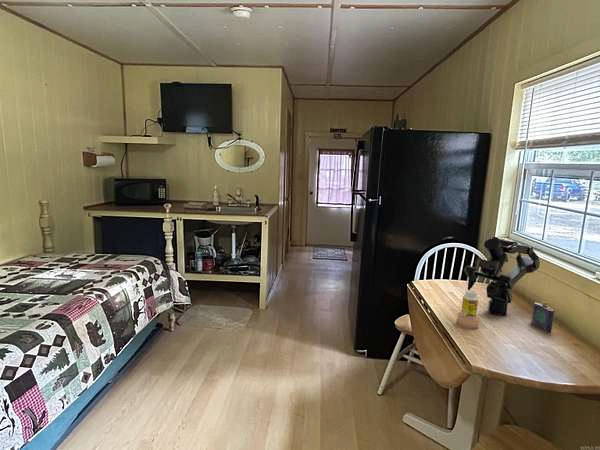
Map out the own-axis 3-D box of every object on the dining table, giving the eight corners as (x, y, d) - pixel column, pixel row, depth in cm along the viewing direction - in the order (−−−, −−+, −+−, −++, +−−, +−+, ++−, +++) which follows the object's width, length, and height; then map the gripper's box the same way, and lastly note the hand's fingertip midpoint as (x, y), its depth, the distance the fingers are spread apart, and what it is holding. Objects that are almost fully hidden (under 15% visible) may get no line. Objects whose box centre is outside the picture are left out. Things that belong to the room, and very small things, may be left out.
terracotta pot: (476, 322, 149) (477, 313, 148) (479, 331, 141) (481, 321, 140) (455, 319, 151) (456, 310, 150) (457, 327, 143) (458, 318, 143)
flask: (529, 322, 151) (533, 298, 149) (535, 322, 151) (539, 298, 149) (547, 332, 142) (551, 306, 140) (553, 332, 142) (558, 306, 140)
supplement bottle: (466, 318, 142) (469, 294, 140) (458, 313, 147) (460, 289, 146) (479, 318, 143) (482, 293, 141) (470, 312, 148) (473, 289, 147)
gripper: (468, 247, 155) (451, 276, 151) (514, 257, 140) (496, 289, 136) (476, 262, 161) (460, 290, 156) (520, 273, 146) (504, 304, 142)
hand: (478, 293), depth 147 cm, fingers open, 9 cm apart
